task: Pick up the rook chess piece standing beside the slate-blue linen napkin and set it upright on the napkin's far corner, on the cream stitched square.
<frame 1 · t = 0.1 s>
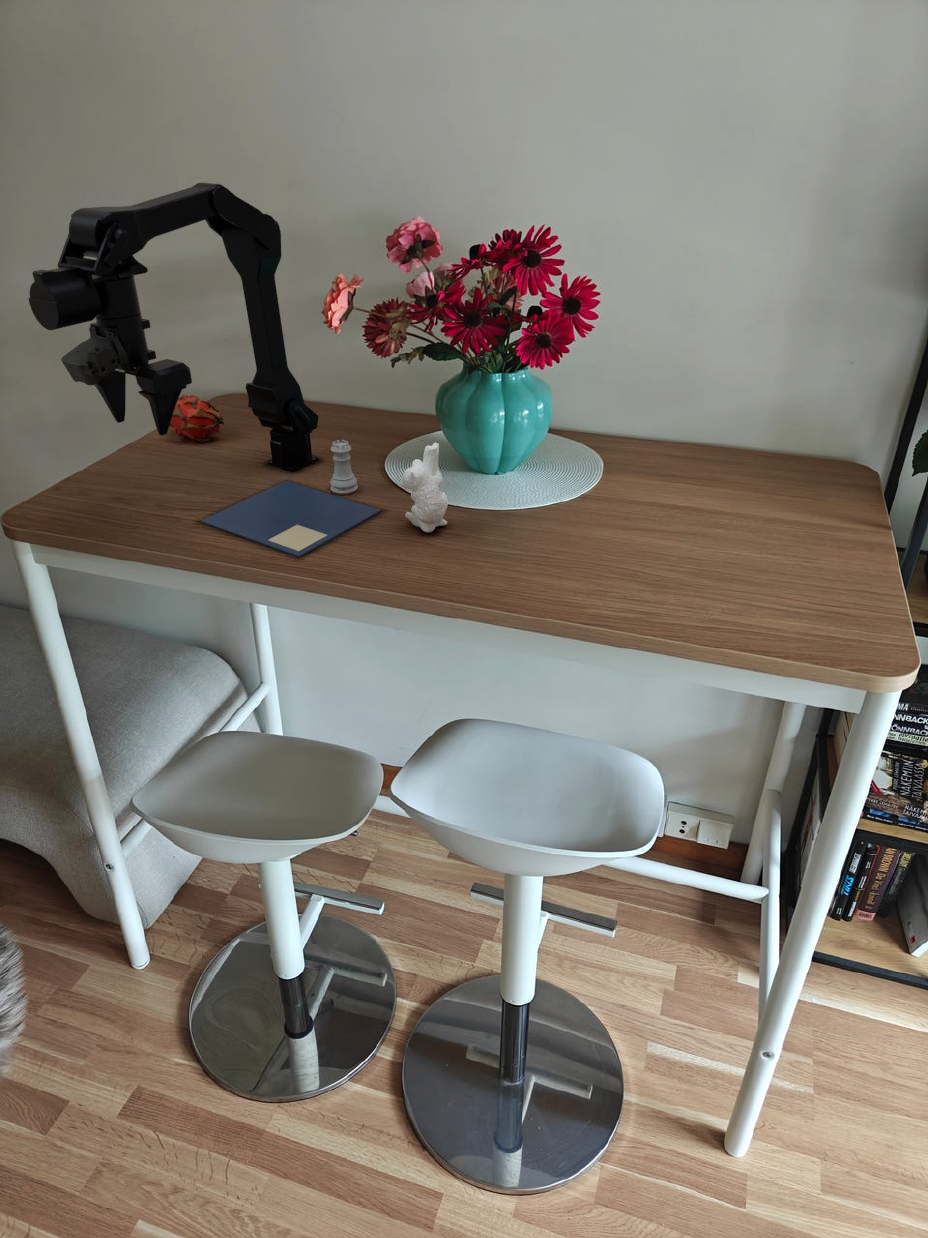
hand: (141, 428, 124), 15 cm above the table, tool pointing down, fingers open, 9 cm apart
rook chess piece: (344, 491, 142), on the table
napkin: (292, 516, 133), on the table
dragon fruit: (198, 438, 162), on the table
white bunny statuette: (428, 527, 131), on the table
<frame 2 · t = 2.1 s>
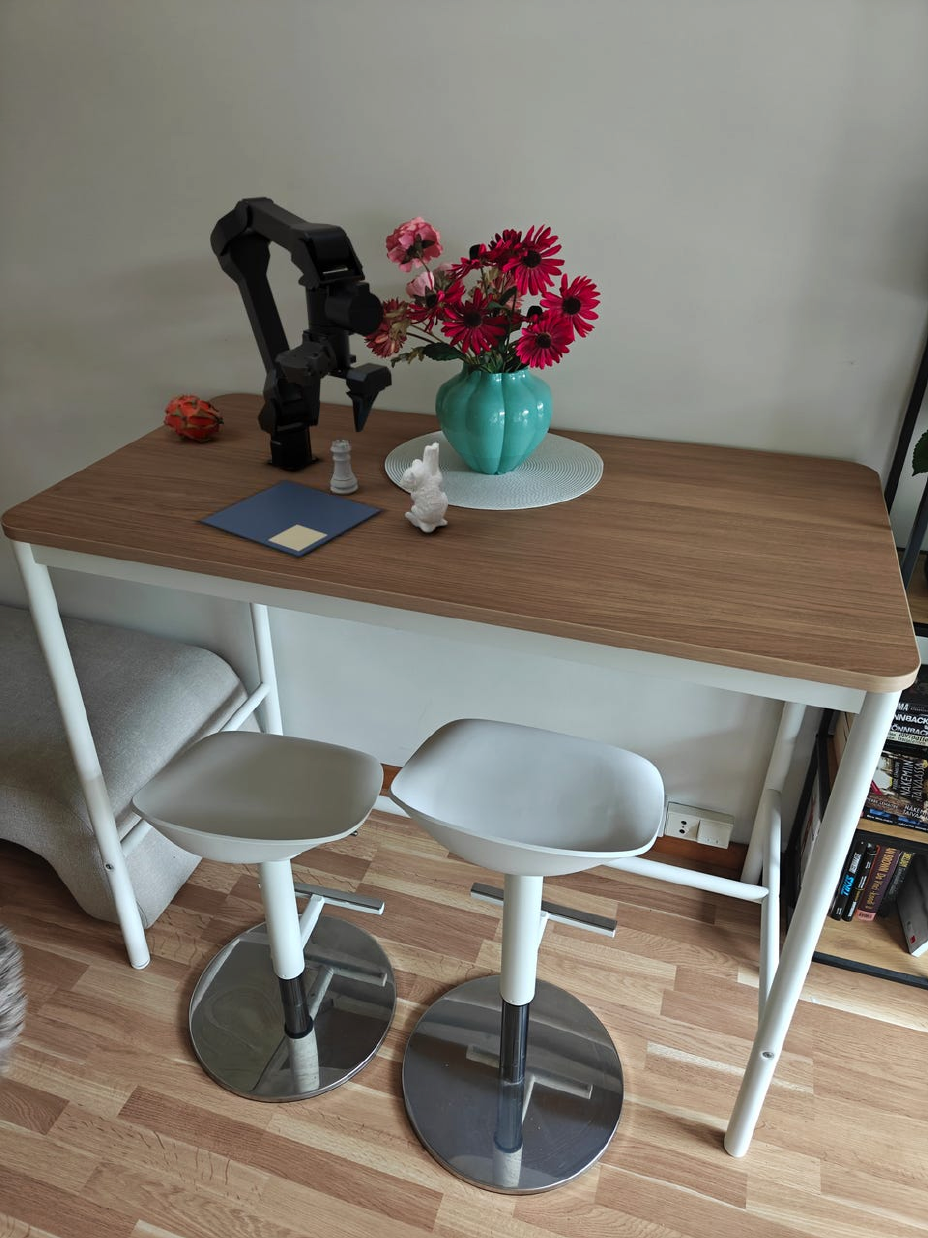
hand: (336, 425, 136), 11 cm above the table, tool pointing down, fingers open, 9 cm apart
nothing on the table moved.
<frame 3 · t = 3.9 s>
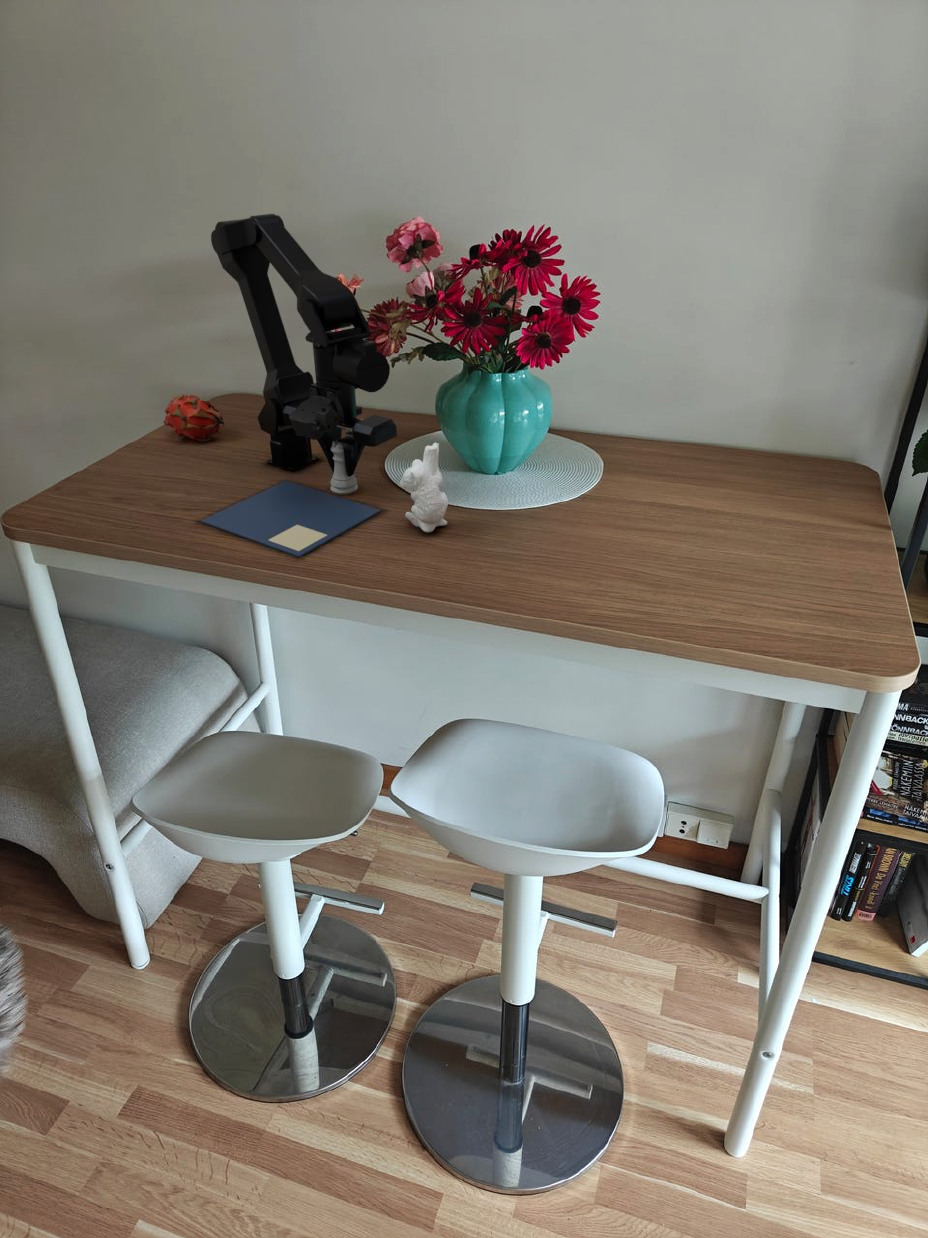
hand: (342, 473, 140), 3 cm above the table, tool pointing down, fingers closed on rook chess piece, 3 cm apart
rook chess piece: (344, 491, 142), on the table, touching gripper
everything else where it was.
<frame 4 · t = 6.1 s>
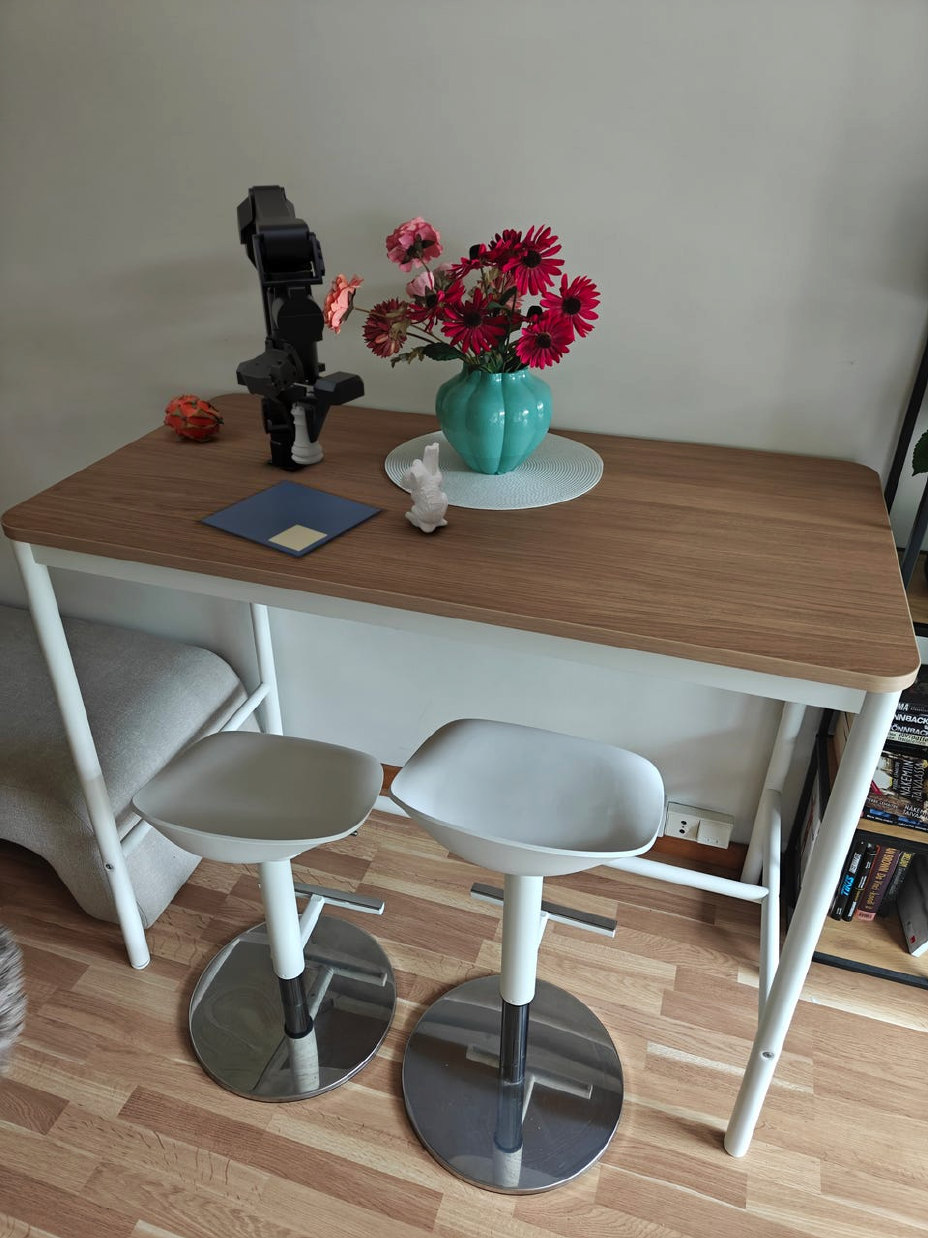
hand: (305, 440, 124), 13 cm above the table, tool pointing down, fingers closed on rook chess piece, 3 cm apart
rook chess piece: (307, 460, 126), point 10 cm above the table, touching gripper
everything else where it was.
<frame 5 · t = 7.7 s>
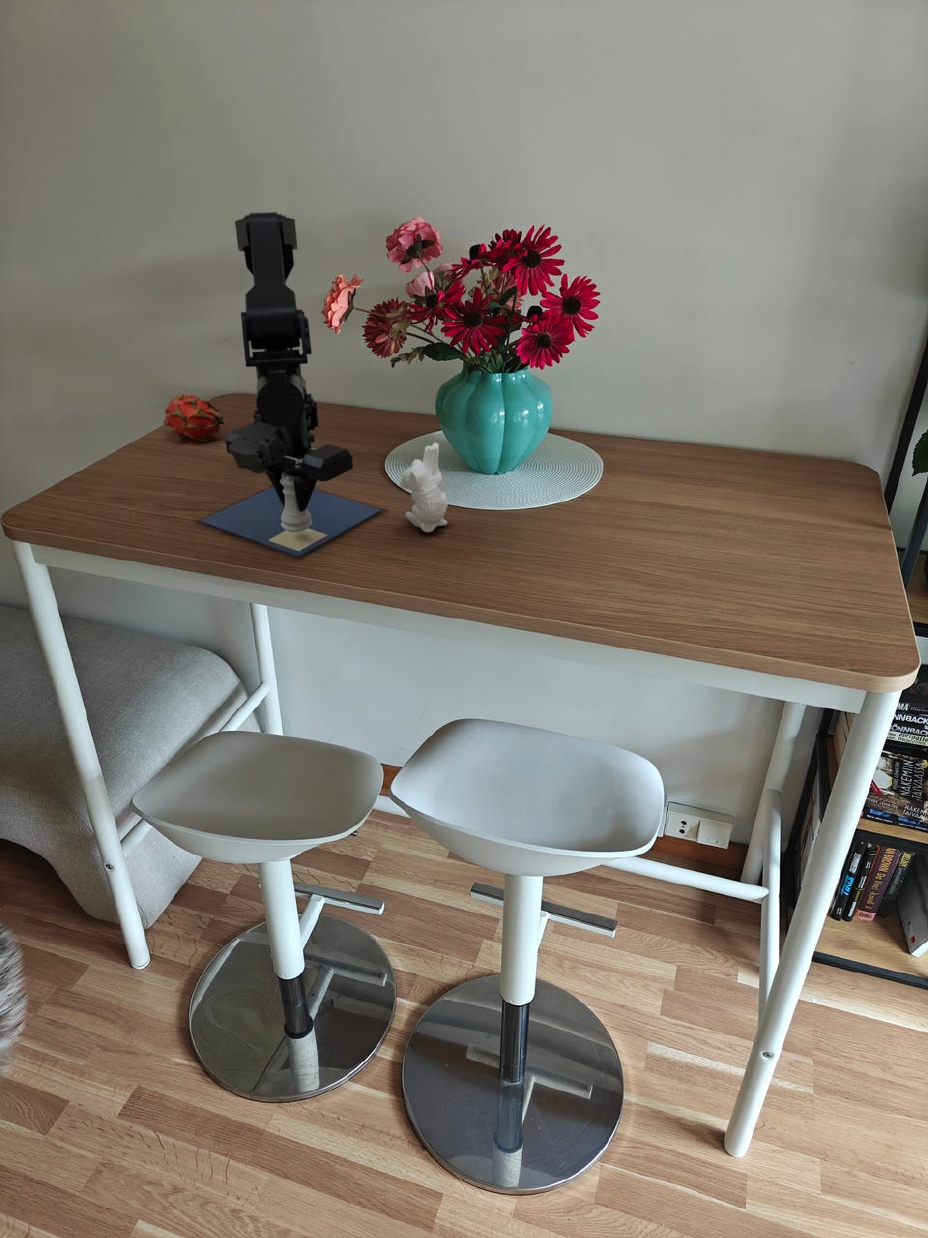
hand: (294, 508, 125), 5 cm above the table, tool pointing down, fingers closed on rook chess piece, 3 cm apart
rook chess piece: (297, 527, 126), point 2 cm above the table, touching gripper
everything else where it was.
when the fingers open (3 cm above the table, at t = 8.7 s): rook chess piece stays where it is, resting on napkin.
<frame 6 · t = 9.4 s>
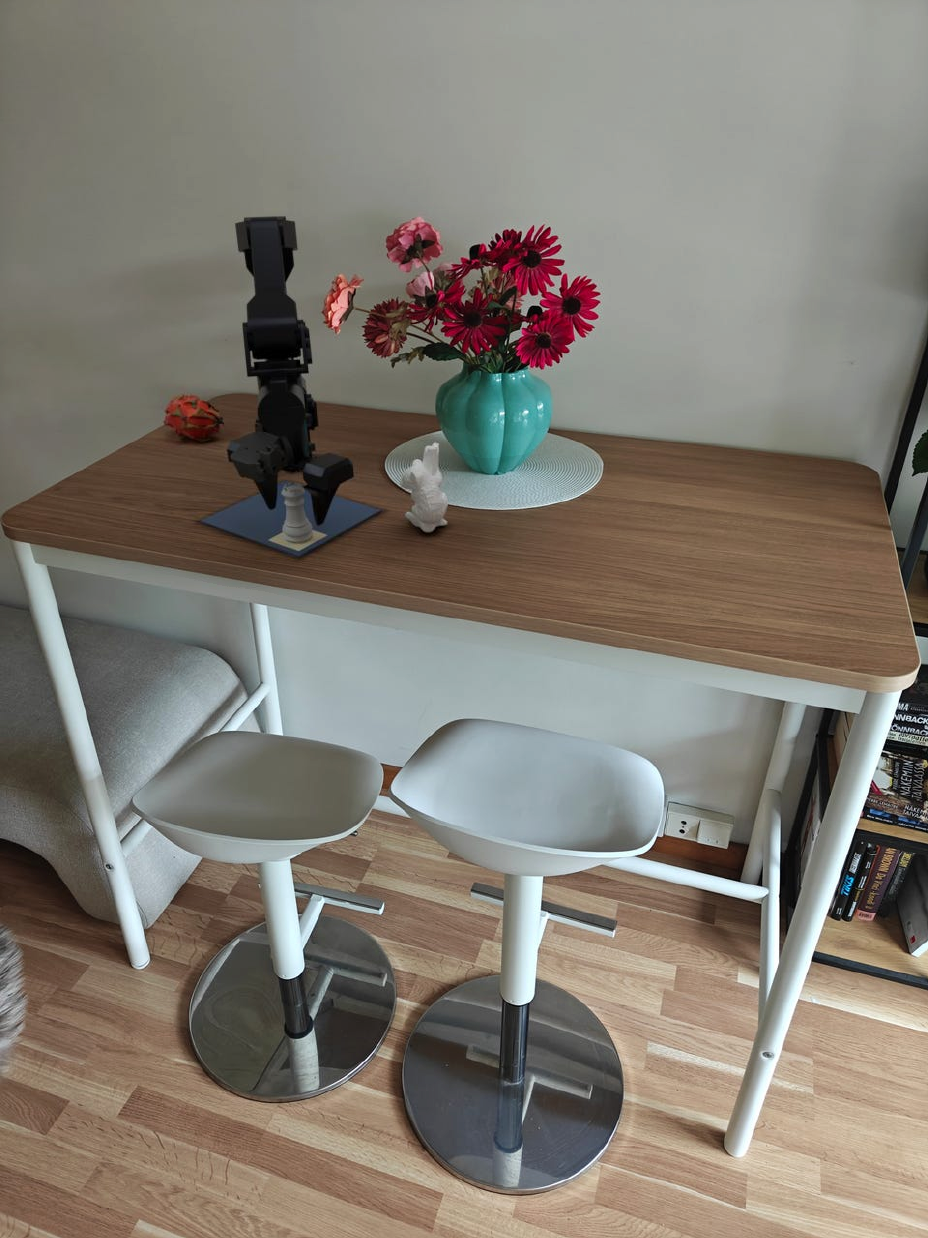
hand: (295, 516, 125), 4 cm above the table, tool pointing down, fingers open, 9 cm apart
rook chess piece: (298, 538, 127), resting on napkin
everything else where it was.
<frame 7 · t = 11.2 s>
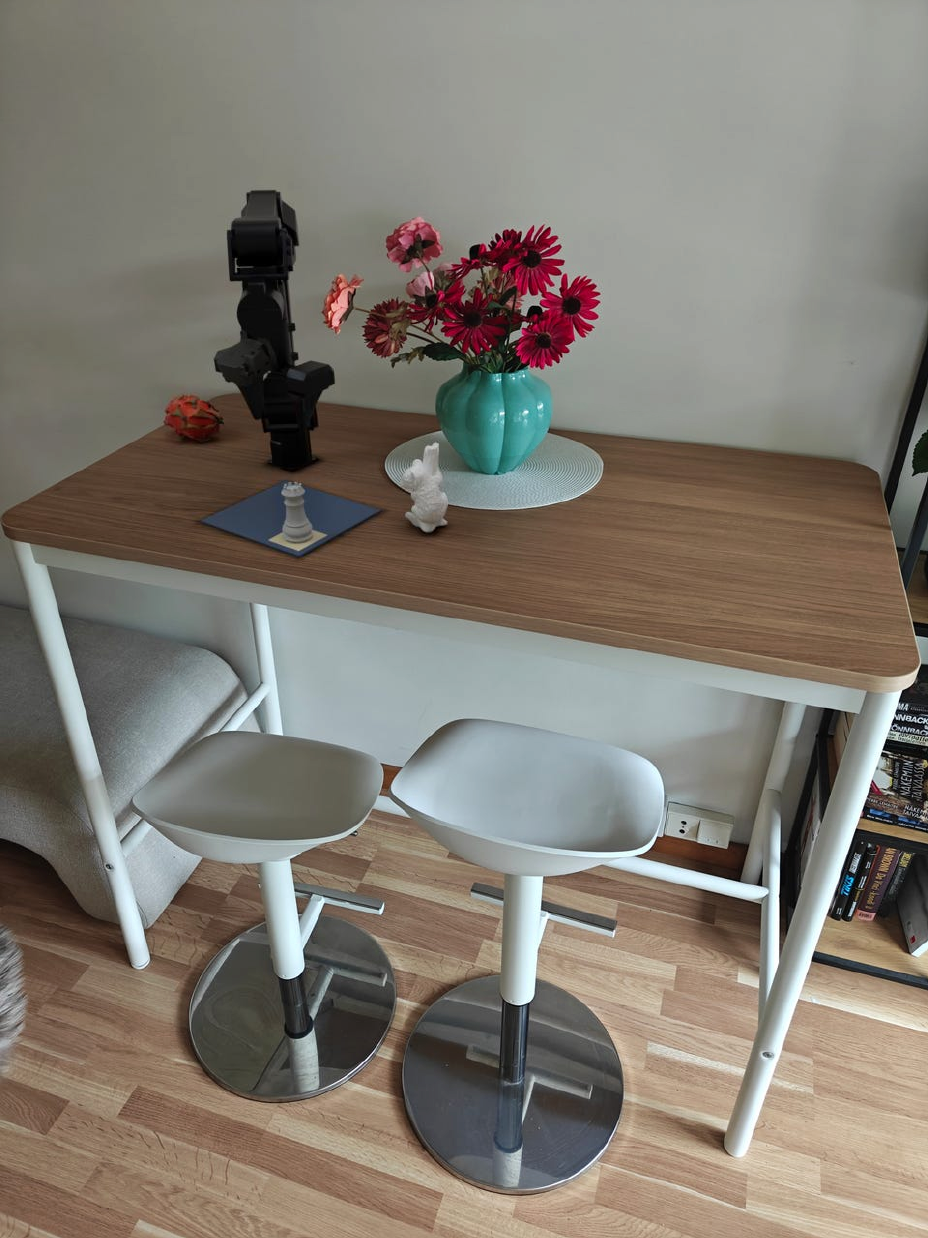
hand: (280, 425, 131), 13 cm above the table, tool pointing down, fingers open, 9 cm apart
nothing on the table moved.
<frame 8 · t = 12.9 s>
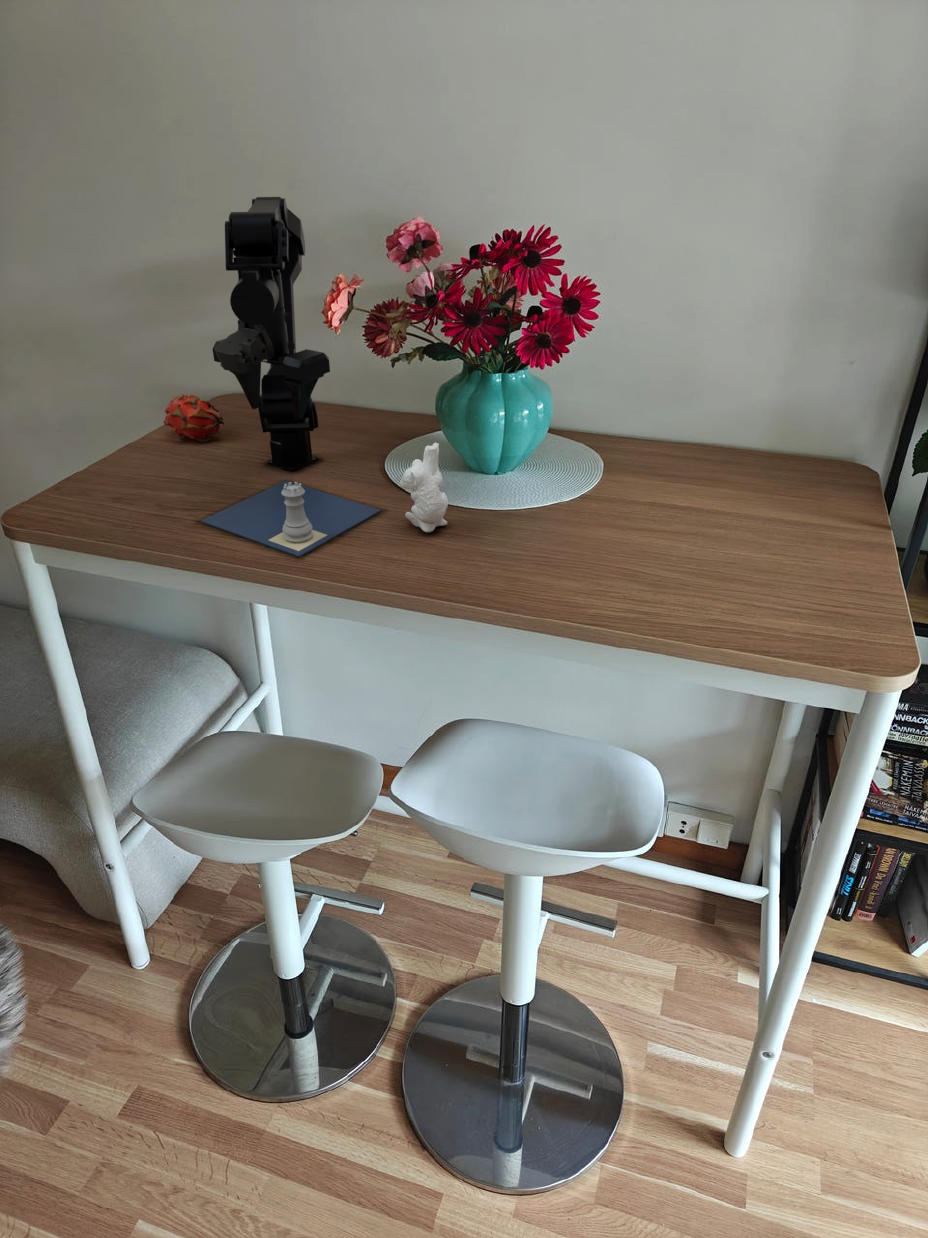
hand: (276, 413, 134), 13 cm above the table, tool pointing down, fingers open, 9 cm apart
nothing on the table moved.
at the end: rook chess piece 1.0 cm from the target spot on the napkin, point 0.2 cm above the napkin's base; rook chess piece tilted 0°; the gripper is holding nothing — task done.
